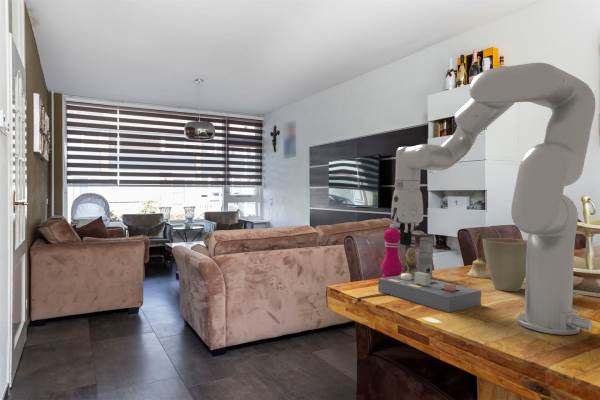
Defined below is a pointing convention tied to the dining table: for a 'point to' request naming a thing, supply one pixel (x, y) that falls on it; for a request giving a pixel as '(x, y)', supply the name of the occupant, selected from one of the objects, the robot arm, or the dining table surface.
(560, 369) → the dining table surface
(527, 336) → the dining table surface
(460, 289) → the switch panel
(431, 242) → the coffee box
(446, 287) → the terracotta button
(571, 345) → the dining table surface
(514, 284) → the plant pot
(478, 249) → the hand bell
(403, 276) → the off white button
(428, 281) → the pale green block
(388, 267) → the pepper mill
